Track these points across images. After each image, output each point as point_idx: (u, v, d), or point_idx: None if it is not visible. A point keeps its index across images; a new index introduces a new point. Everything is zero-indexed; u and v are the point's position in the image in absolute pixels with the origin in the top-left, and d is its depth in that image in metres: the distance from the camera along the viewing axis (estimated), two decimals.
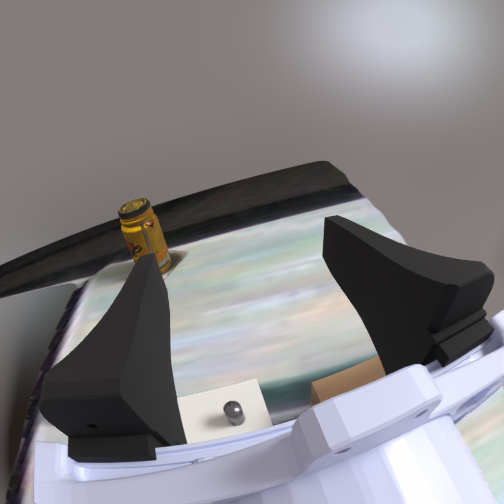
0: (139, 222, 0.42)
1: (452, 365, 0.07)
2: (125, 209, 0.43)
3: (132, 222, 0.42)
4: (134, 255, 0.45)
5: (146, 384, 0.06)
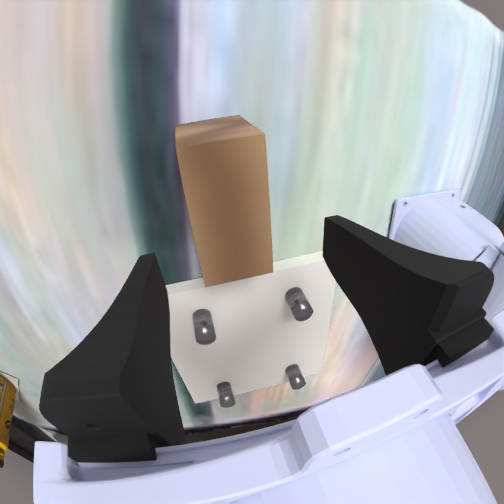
0: None
1: (452, 365, 0.07)
2: None
3: None
4: (11, 419, 0.23)
5: (146, 384, 0.06)
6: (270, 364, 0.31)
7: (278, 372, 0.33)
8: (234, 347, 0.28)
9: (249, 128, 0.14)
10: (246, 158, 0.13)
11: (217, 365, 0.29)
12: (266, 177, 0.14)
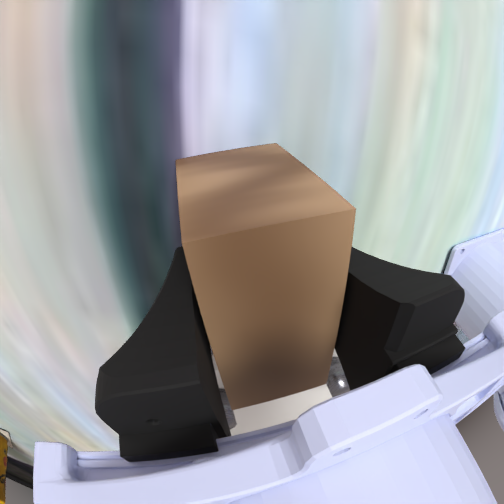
0: None
1: None
2: None
3: None
4: (5, 471, 0.17)
5: (207, 373, 0.07)
6: None
7: None
8: (253, 416, 0.22)
9: (315, 185, 0.08)
10: (317, 253, 0.07)
11: (232, 431, 0.23)
12: (344, 279, 0.08)
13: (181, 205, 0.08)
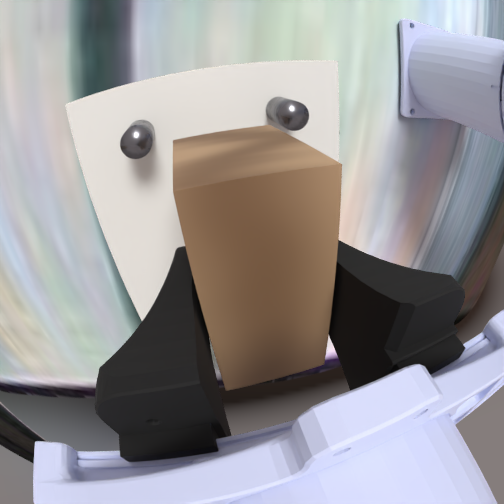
0: None
1: None
2: None
3: None
4: None
5: (207, 373, 0.07)
6: None
7: None
8: None
9: (304, 149, 0.08)
10: (306, 208, 0.07)
11: (169, 246, 0.20)
12: (335, 239, 0.08)
13: (175, 168, 0.08)
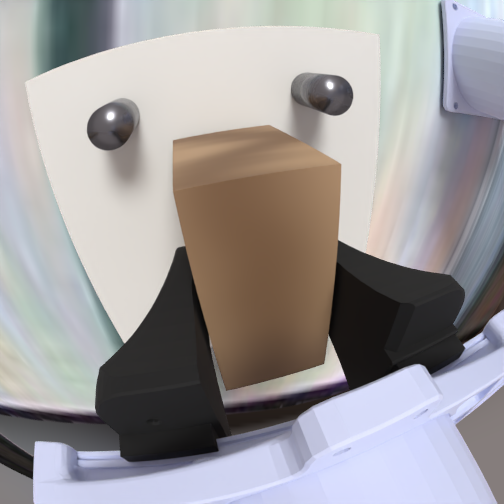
0: None
1: None
2: None
3: None
4: None
5: (207, 373, 0.07)
6: None
7: None
8: None
9: (303, 149, 0.08)
10: (306, 208, 0.07)
11: (161, 266, 0.15)
12: (335, 239, 0.08)
13: (175, 168, 0.08)
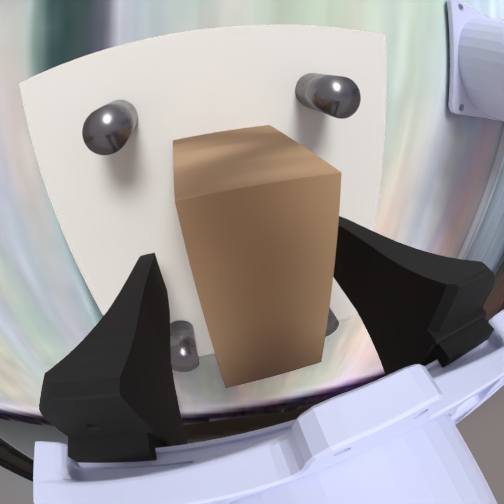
0: None
1: (452, 365, 0.07)
2: None
3: None
4: None
5: (146, 384, 0.06)
6: None
7: None
8: None
9: (304, 155, 0.08)
10: (306, 215, 0.07)
11: None
12: (334, 245, 0.08)
13: (176, 173, 0.08)
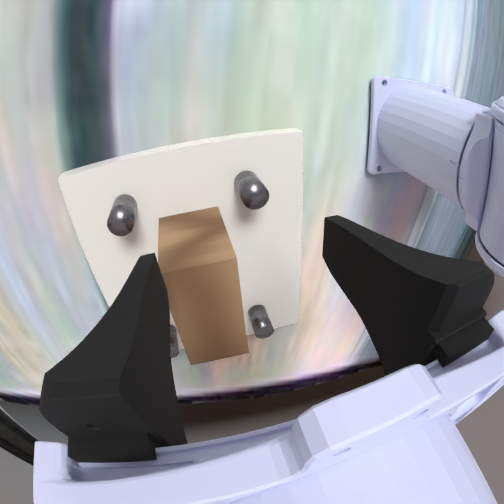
0: None
1: (452, 365, 0.07)
2: None
3: None
4: None
5: (146, 384, 0.06)
6: None
7: None
8: None
9: (224, 242, 0.16)
10: (220, 277, 0.16)
11: None
12: (239, 290, 0.16)
13: (159, 253, 0.16)
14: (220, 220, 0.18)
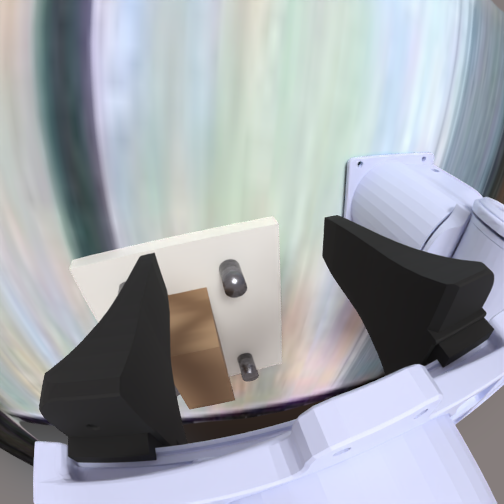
0: None
1: (452, 365, 0.07)
2: None
3: None
4: None
5: (146, 384, 0.06)
6: None
7: (229, 362, 0.30)
8: None
9: (210, 330, 0.20)
10: (208, 358, 0.19)
11: None
12: (223, 364, 0.20)
13: None
14: (208, 304, 0.22)
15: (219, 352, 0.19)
